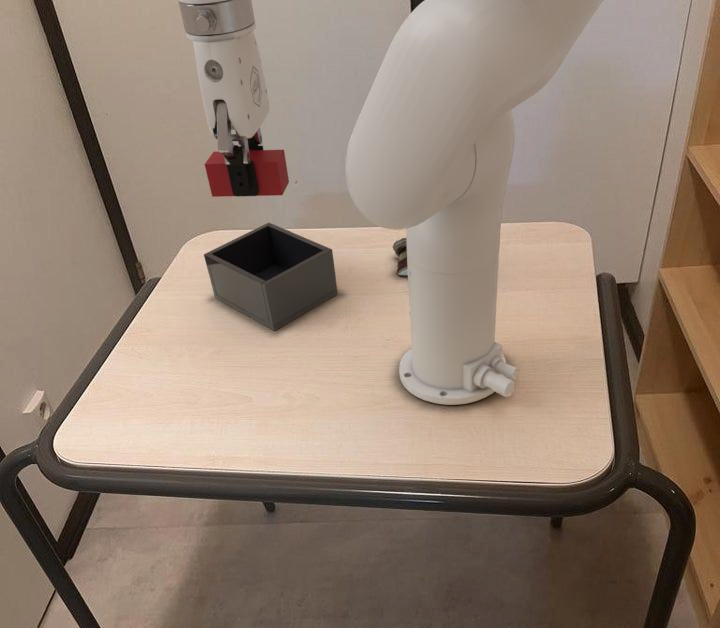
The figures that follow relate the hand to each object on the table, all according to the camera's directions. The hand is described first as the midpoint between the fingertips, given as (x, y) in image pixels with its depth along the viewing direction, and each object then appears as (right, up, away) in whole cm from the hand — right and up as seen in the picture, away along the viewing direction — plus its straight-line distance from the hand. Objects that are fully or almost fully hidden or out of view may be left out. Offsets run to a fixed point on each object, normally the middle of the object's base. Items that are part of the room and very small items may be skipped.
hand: (250, 185), depth 89 cm
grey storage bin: (+2, -10, +13) cm, 17 cm away
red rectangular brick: (0, 0, 0) cm, 0 cm away
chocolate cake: (+23, -7, +14) cm, 28 cm away
